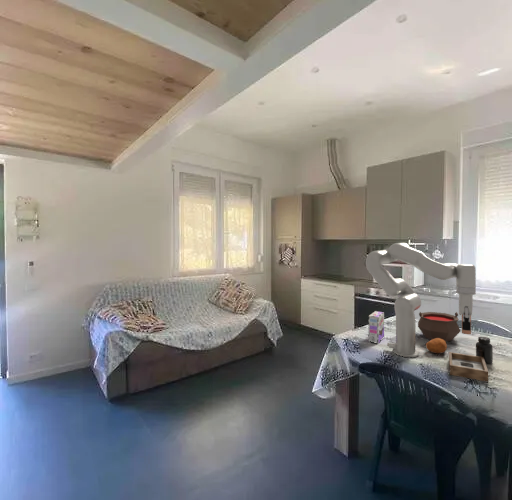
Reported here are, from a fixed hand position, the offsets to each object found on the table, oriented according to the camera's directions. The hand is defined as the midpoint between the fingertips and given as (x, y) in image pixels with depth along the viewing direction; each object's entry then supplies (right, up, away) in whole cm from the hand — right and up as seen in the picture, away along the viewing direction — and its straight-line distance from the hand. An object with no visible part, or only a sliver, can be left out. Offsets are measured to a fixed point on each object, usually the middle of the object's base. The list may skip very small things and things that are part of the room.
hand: (466, 328), depth 143 cm
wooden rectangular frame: (0, -20, 0) cm, 20 cm away
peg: (0, -2, 0) cm, 2 cm away
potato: (-1, -19, +22) cm, 29 cm away
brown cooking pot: (+13, -18, +44) cm, 49 cm away
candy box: (-26, -18, +43) cm, 53 cm away
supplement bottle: (+15, -19, +9) cm, 26 cm away
